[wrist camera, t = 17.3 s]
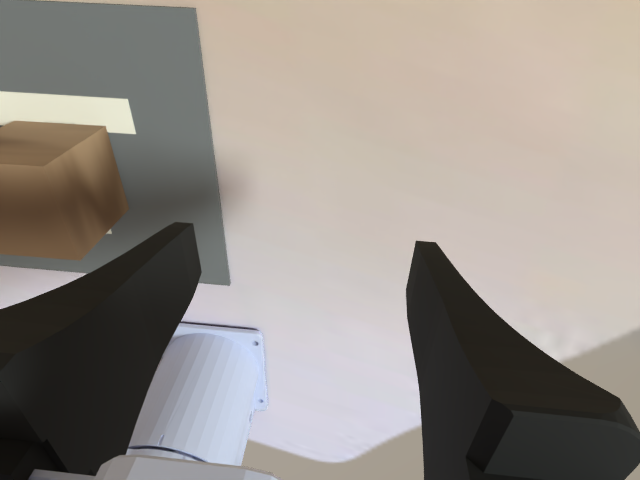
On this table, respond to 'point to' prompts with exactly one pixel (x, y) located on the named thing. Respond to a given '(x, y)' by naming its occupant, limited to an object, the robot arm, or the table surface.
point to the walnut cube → (57, 189)
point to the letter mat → (121, 113)
